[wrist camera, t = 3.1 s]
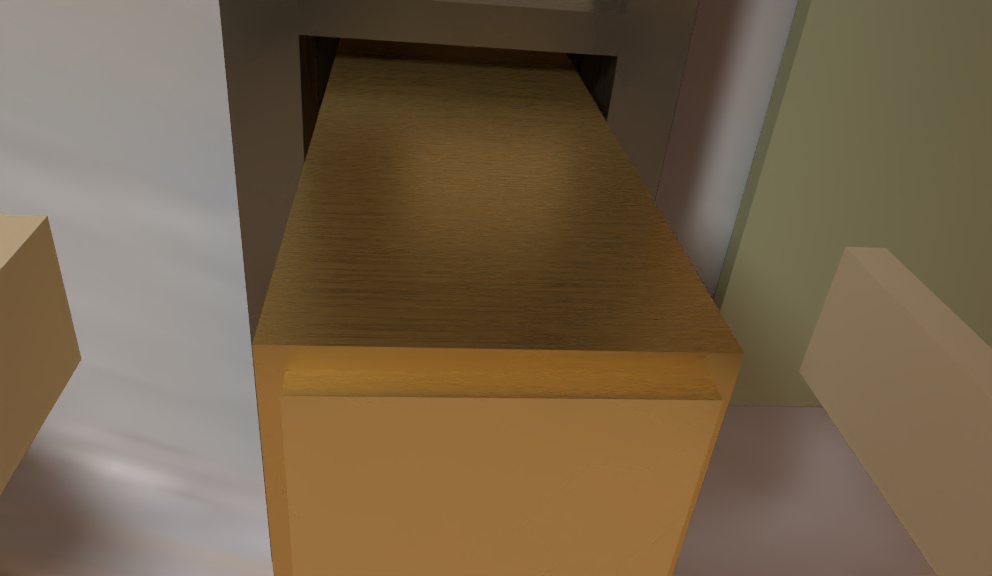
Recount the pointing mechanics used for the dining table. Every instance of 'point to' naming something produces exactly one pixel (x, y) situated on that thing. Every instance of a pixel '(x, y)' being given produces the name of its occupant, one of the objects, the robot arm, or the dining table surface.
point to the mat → (863, 176)
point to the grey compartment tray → (435, 20)
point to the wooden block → (480, 333)
